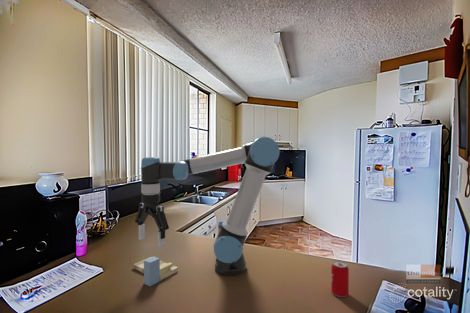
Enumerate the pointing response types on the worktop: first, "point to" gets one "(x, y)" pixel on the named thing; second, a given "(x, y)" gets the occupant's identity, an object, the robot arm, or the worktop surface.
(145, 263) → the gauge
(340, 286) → the beverage can
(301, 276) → the worktop surface
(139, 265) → the board
